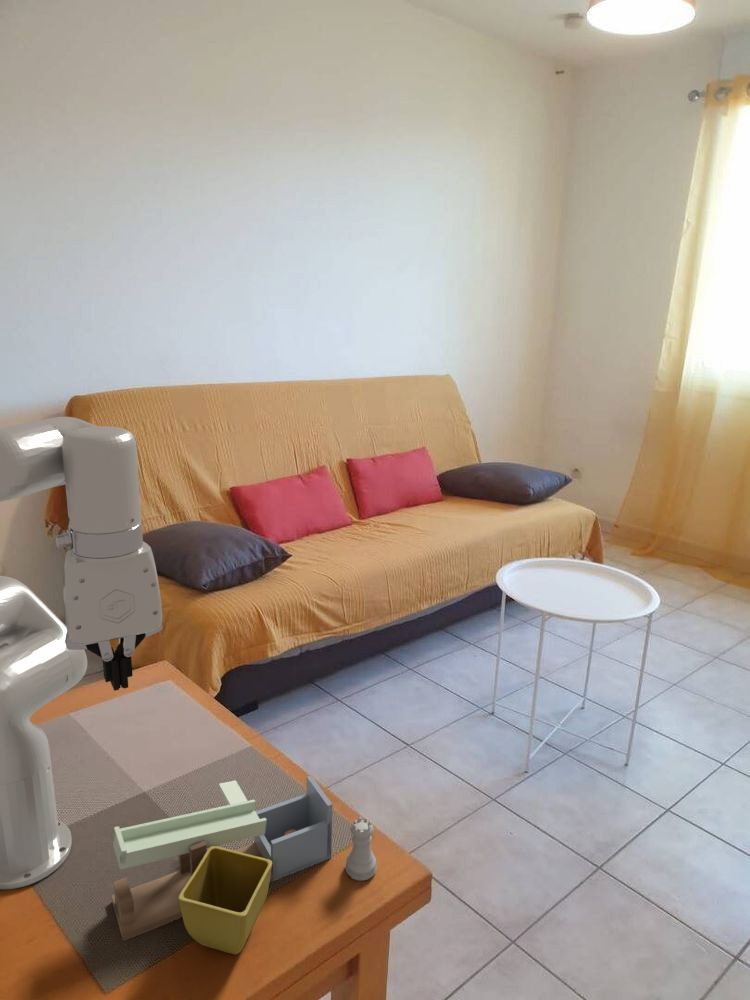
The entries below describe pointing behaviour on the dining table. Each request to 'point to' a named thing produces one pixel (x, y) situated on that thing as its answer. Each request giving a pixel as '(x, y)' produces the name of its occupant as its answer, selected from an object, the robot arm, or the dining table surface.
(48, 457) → the robot arm
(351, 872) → the rook chess piece
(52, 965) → the dining table surface
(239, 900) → the flower pot
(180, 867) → the catapult base
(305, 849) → the blue-grey box
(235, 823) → the lever
